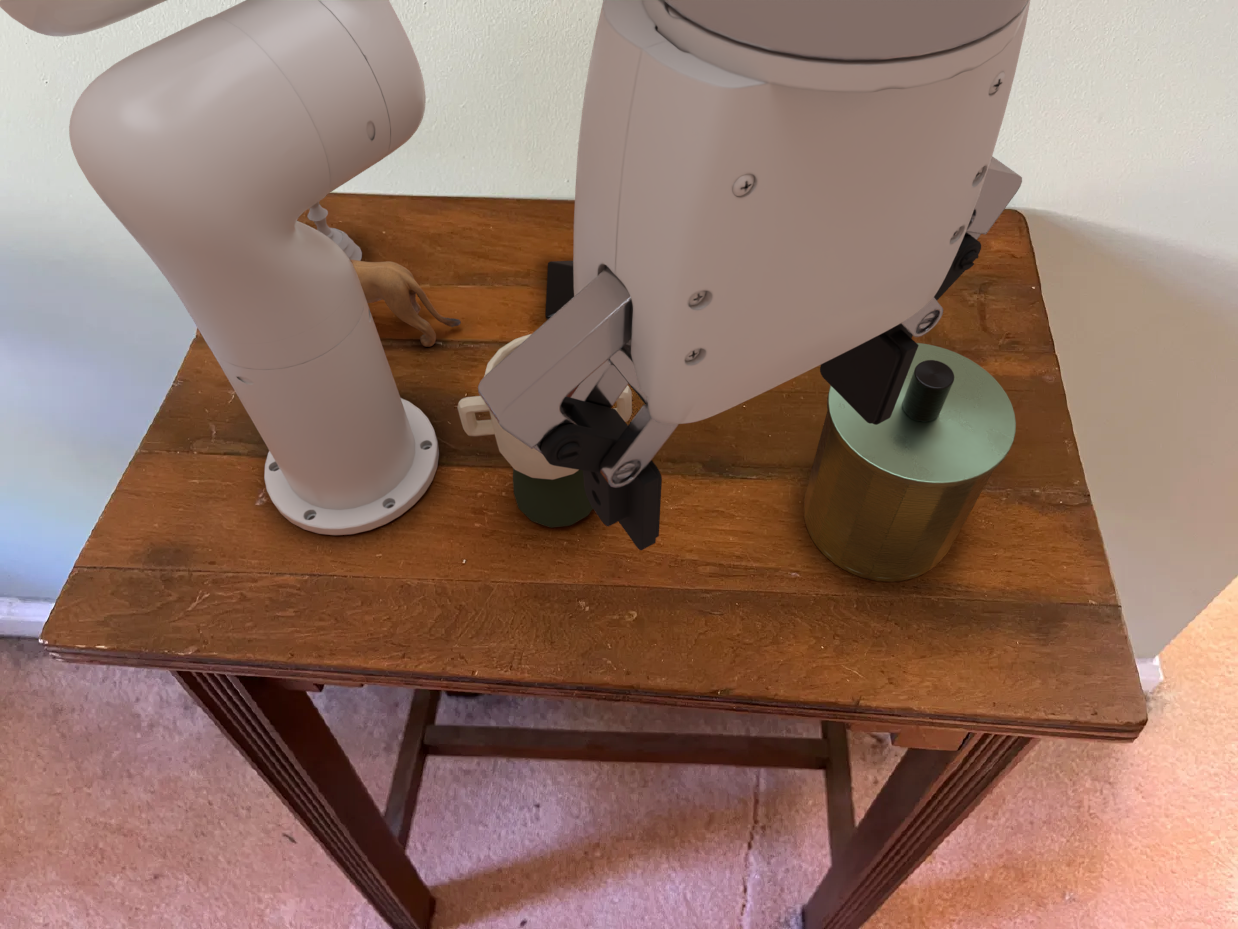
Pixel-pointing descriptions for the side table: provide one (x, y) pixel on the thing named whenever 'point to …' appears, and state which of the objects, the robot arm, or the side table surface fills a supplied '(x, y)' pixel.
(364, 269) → the lion figurine
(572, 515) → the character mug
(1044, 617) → the side table surface
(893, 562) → the pot
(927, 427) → the pot lid
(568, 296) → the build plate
